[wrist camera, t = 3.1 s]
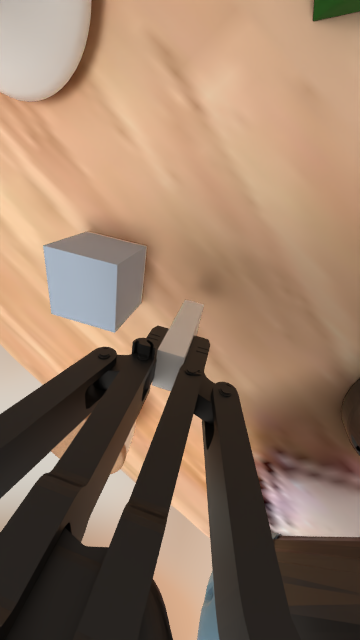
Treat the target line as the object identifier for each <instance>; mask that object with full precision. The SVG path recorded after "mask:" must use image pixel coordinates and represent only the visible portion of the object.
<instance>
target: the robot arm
mask: <svg viewBox="0 0 360 640" xmlns="http://www.w3.org/2000/svg"><path fill="white" fill-rule="evenodd" d="M203 308H204V304H201V303H197V302H194V301H190V300H186V299H185V301H184V303H183V304H182V306H181V308H180V310H179V312H178V313H177V315H176V317H175V319H174V321H173V323H172V324H171V326H170V328H169V329H168V328H164V327H161V326H156V327H155V328H153V329H152V330H151V332H150V333H149V335H148V336H147V338H138V339H136V340H134V341H133V346H132V354H131V355H117V353H116V351H115V350H114V349H113V348H110V347H100V348H97V349H95V350H94V351H92V352H91V353H89V354H88V355H86V356H85V357H84V358H82V359H81V360H79V361H78V362H76V363H75V364H73V365H72V366H70V367H69V368H67V369H66V370H64V371H63V372H62V373H60V374H59V375H57V376H56V377H54V378H53V379H51V380H50V381H48V382H47V383H45V384H44V385H42V386H41V387H40V388H38V389H37V390H35V391H34V392H32V393H31V394H29V395H28V396H26V397H25V398H24V399H22V400H20V401H19V402H18V403H16V404H15V405H13V406H12V407H10V408H9V409H7V410H6V411H4V412H3V413H1V414H0V498H1V497H2V496H4V495H5V494H6V493H7V492H8V491H9V490H10V489H11V488H12V487H13V486H14V485H15V484H16V483H17V482H18V481H19V480H20V479H22V478H23V477H24V476H25V475H26V474H27V473H28V472H29V471H30V470H31V469H32V468H33V467H34V466H35V465H36V464H38V463H39V462H40V461H41V459H43V458H44V457H45V456H46V455H47V454H48V453H49V452H50V451H51V450H52V449H53V448H55V447H56V446H57V445H58V444H59V443H60V442H61V441H62V440H63V439H64V438H65V437H66V436H67V435H68V434H69V433H70V432H71V431H73V430H74V429H75V428H76V427H77V426H78V425H79V424H80V423H81V422H82V421H83V420H84V419H85V418H86V417H87V416H88V415H90V416H89V417H88V419H87V420H86V422H85V423H84V425H83V426H82V427H81V429H80V430H79V432H78V433H77V435H76V436H75V438H74V439H73V441H72V442H71V444H70V445H69V447H68V448H67V450H66V451H65V452H64V454H63V455H62V457H61V458H60V460H59V461H58V463H57V464H56V466H55V467H54V469H53V470H52V471H51V472H49V473H46V474H44V475H43V476H41V477H40V478H39V480H38V481H37V482H36V483H35V485H34V486H33V487H32V489H31V490H30V492H29V493H28V495H27V496H26V497H25V499H24V500H23V502H22V503H21V504H20V506H19V507H18V509H17V510H16V512H15V513H14V514H13V516H12V517H11V519H10V520H9V521H8V523H7V525H6V526H5V527H4V528H3V530H2V531H1V532H0V640H173V638H172V634H171V630H170V625H169V620H168V616H167V612H166V608H165V604H164V601H163V598H162V595H161V593H160V591H159V589H158V587H157V585H156V583H155V582H154V580H153V575H154V571H155V567H156V563H157V558H158V555H159V551H160V547H161V542H162V539H163V535H164V531H165V527H166V522H167V517H168V512H169V508H170V504H171V500H172V496H173V492H174V488H175V485H176V481H177V477H178V473H179V469H180V465H181V461H182V457H183V453H184V449H185V445H186V441H187V437H188V433H189V429H190V425H191V421H192V417H193V414H195V415H196V416H198V417H199V418H201V419H202V428H203V442H204V456H205V470H206V484H207V498H208V512H209V526H210V540H211V552H212V567H213V571H212V573H211V576H210V579H209V582H208V585H207V590H206V595H205V601H204V604H203V607H202V611H201V616H200V622H199V630H198V639H197V640H360V537H308V536H282V535H281V534H279V533H272V534H271V530H270V526H269V522H268V518H267V513H266V509H265V505H264V501H263V497H262V492H261V488H260V484H259V480H258V476H257V471H256V467H255V463H254V459H253V454H252V450H251V446H250V442H249V438H248V433H247V429H246V425H245V421H244V417H243V412H242V408H241V404H240V400H239V396H238V392H237V390H236V389H235V387H234V386H232V385H231V384H229V383H226V382H218V383H216V384H215V383H213V382H212V381H210V380H209V379H208V378H207V377H206V376H205V373H204V368H205V364H206V360H207V356H208V352H209V348H210V343H209V340H208V339H204V338H201V337H197V336H196V335H197V332H198V328H199V324H200V320H201V316H202V312H203ZM152 381H153V383H152ZM151 383H152V385H153V386H156V387H159V388H162V389H166V390H169V391H171V393H170V395H169V398H168V401H167V403H166V406H165V408H164V411H163V414H162V416H161V419H160V421H159V424H158V427H157V429H156V432H155V434H154V437H153V440H152V442H151V445H150V448H149V450H148V453H147V455H146V458H145V461H144V463H143V466H142V468H141V471H140V474H139V476H138V479H137V481H136V484H135V487H134V489H133V492H132V495H131V497H130V500H129V502H128V503H127V504H126V506H125V508H124V510H123V513H122V515H121V518H120V520H119V523H118V525H117V528H116V530H115V533H114V536H113V538H112V541H111V543H110V546H109V547H88V546H84V545H83V544H82V543H81V541H82V538H83V536H84V533H85V530H86V527H87V523H88V520H89V518H90V515H91V513H92V511H93V509H94V507H95V505H96V503H97V500H98V498H99V496H100V494H101V492H102V490H103V488H104V486H105V484H106V481H107V479H108V477H109V475H110V473H111V471H112V469H113V467H114V465H115V463H116V461H117V458H118V456H119V454H120V452H121V450H122V448H123V446H124V444H125V442H126V439H127V437H128V435H129V433H130V431H131V429H132V427H133V425H134V423H135V421H136V418H137V416H138V414H139V412H140V410H141V408H142V406H143V404H144V402H145V400H146V397H147V395H148V393H149V390H150V385H151ZM341 416H342V421H343V424H344V427H345V430H346V432H347V435H348V438H349V440H350V442H351V444H352V446H353V447H354V449H355V450H356V452H357V453H358V454H359V455H360V379H359V380H358V381H357V382H356V383H355V384H354V385H353V386H352V387H351V389H350V390H349V391H348V393H347V395H346V396H345V399H344V401H343V404H342V410H341Z"/></svg>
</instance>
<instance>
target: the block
mask: <svg viewBox="0 0 360 640" xmlns="http://www.w3.org/2000/svg"><path fill="white" fill-rule="evenodd" d="M43 248H44V256H45V264H46V272H47V281H48V289H49V297H50V305H51V314H54V315H57V316H61V317H64V318H67V319H71V320H74V321H78V322H81V323H84V324H88V325H91V326H94V327H98V328H101V329H104V330H108V331H111V332H114V333H115V332H116V331H117V330H118V329H119V327H120V326H121V325H122V324H123V323H124V322H125V321H126V320H127V318H128V317H129V316H130V315H131V314H132V313H133V312H134V311H135V310H136V308H137V307H138V306H139V305H140V304H141V303H142V293H143V283H144V273H145V263H146V253H147V246H145V245H141V244H137V243H133V242H129V241H125V240H121V239H117V238H113V237H109V236H105V235H101V234H97V233H93V232H89V231H87V232H84V233H81V234H78V235H75V236H72V237H69V238H65V239H62V240H59V241H56V242H53V243H50V244H47V245H44V246H43Z"/></svg>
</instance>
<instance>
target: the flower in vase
mask: <svg viewBox="0 0 360 640" xmlns="http://www.w3.org/2000/svg"><path fill="white" fill-rule="evenodd" d="M90 19H91V0H0V92H1V93H3V94H5V95H7V96H9V97H11V98H14V99H17V100H20V101H27V102H31V101H40V100H43V99H46V98H48V97H50V96H52V95H54V94H55V93H57V92H58V91H59V90H61V89H62V88H63V86H64V85H65V84H66V83H67V82H68V81H69V79H70V78H71V76H72V75H73V73H74V72H75V70H76V68H77V66H78V64H79V62H80V60H81V58H82V55H83V52H84V49H85V46H86V41H87V37H88V33H89V26H90Z"/></svg>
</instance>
